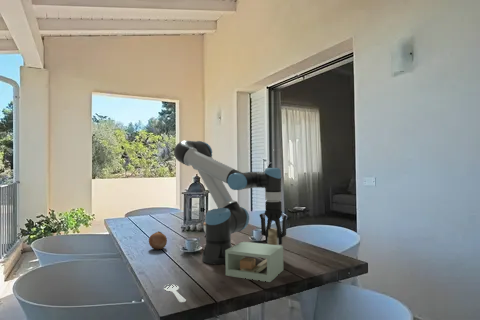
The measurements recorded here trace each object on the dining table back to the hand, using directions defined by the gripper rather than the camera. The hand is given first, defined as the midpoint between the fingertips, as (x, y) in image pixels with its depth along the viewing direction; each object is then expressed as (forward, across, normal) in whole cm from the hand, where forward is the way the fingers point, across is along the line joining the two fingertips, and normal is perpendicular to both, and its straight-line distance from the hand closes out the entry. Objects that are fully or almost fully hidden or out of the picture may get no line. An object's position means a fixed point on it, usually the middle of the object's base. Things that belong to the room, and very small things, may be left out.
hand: (273, 250), depth 159 cm
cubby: (+4, +1, +20) cm, 21 cm away
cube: (+4, +4, +20) cm, 21 cm away
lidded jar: (+4, +54, -34) cm, 64 cm away
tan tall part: (+4, +1, +11) cm, 12 cm away
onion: (+4, +63, +7) cm, 63 cm away
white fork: (+5, +18, +52) cm, 55 cm away
